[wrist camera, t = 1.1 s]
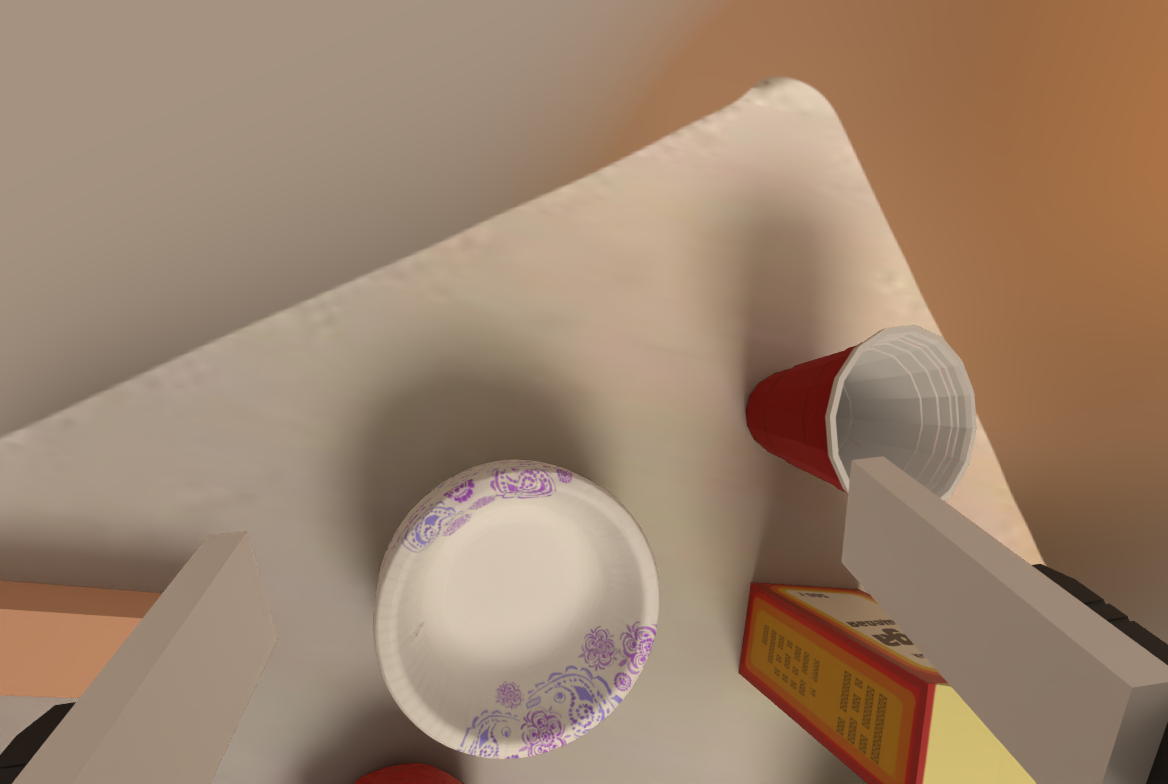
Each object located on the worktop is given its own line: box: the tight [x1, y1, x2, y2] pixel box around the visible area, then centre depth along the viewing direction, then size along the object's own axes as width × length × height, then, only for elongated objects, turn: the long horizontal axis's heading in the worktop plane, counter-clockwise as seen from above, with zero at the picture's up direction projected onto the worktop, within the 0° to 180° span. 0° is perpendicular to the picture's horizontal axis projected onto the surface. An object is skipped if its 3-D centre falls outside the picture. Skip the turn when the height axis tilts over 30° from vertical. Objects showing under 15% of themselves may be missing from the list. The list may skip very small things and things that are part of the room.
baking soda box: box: [739, 582, 1037, 784], centre depth 38 cm, size 10×6×16 cm
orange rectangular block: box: [0, 581, 162, 698], centre depth 31 cm, size 14×4×4 cm, turn 78°
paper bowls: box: [373, 459, 660, 759], centre depth 36 cm, size 15×15×8 cm
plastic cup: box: [746, 325, 976, 501], centre depth 39 cm, size 11×11×12 cm
